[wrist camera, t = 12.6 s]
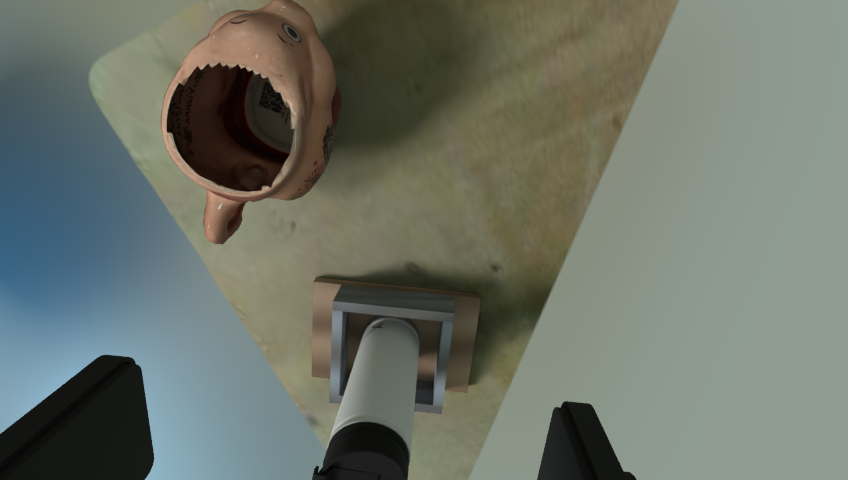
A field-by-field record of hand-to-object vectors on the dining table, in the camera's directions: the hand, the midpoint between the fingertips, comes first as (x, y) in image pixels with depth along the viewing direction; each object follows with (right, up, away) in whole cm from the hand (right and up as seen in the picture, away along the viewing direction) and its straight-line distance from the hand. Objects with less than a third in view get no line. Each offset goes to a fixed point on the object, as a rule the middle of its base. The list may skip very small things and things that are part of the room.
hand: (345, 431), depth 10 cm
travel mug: (-2, -6, +39) cm, 40 cm away
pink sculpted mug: (-11, +16, +33) cm, 39 cm away
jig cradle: (-2, -6, +40) cm, 41 cm away
